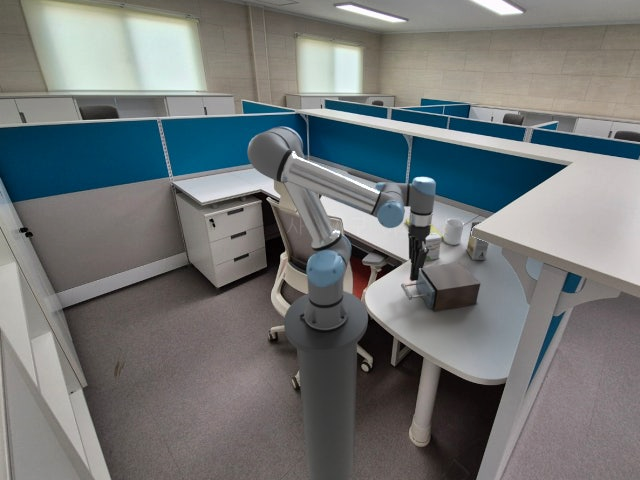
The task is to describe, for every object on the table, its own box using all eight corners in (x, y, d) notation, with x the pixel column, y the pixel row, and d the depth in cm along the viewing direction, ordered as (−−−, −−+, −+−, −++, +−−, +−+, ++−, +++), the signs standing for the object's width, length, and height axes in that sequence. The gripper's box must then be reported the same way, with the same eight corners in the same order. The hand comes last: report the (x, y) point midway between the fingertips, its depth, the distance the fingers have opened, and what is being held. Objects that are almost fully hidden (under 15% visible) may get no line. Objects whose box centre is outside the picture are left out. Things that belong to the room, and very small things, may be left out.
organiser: (434, 311, 111) (437, 290, 107) (418, 286, 124) (421, 267, 120) (475, 303, 116) (480, 283, 112) (456, 280, 129) (460, 261, 125)
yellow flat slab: (405, 222, 179) (421, 242, 158) (405, 219, 178) (422, 238, 157) (424, 220, 182) (442, 240, 161) (424, 217, 181) (443, 236, 160)
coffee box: (465, 250, 152) (471, 221, 146) (478, 250, 153) (484, 221, 146) (472, 260, 144) (479, 230, 137) (485, 260, 145) (492, 230, 138)
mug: (463, 245, 157) (466, 226, 152) (447, 246, 155) (450, 227, 150) (453, 234, 167) (456, 216, 163) (438, 235, 166) (441, 217, 161)
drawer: (410, 312, 109) (412, 295, 106) (397, 288, 121) (399, 272, 118) (469, 301, 115) (472, 285, 112) (451, 280, 127) (454, 265, 124)
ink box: (423, 261, 141) (425, 239, 137) (418, 255, 146) (420, 234, 141) (438, 258, 144) (442, 237, 139) (433, 253, 148) (436, 232, 143)
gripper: (439, 230, 97) (430, 289, 107) (422, 213, 109) (416, 268, 119) (417, 232, 95) (411, 292, 105) (402, 215, 107) (398, 270, 117)
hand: (413, 279), depth 112 cm, fingers closed
